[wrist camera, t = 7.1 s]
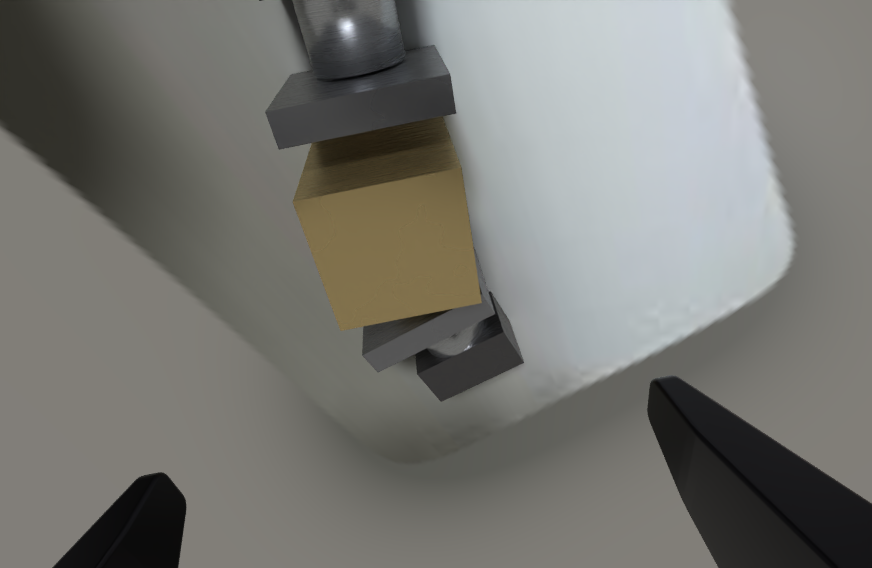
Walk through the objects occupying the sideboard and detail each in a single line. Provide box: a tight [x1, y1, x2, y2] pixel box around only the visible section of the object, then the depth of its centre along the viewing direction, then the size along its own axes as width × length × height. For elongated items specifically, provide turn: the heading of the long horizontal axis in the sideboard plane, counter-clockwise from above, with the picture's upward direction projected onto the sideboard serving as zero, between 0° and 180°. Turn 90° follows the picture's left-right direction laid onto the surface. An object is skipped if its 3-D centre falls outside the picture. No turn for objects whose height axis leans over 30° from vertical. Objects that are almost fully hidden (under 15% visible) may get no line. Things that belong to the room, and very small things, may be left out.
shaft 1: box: [362, 247, 524, 401], centre depth 20 cm, size 5×5×4 cm
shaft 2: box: [259, 0, 456, 149], centre depth 14 cm, size 5×5×4 cm
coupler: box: [293, 116, 482, 331], centre depth 17 cm, size 4×4×6 cm
